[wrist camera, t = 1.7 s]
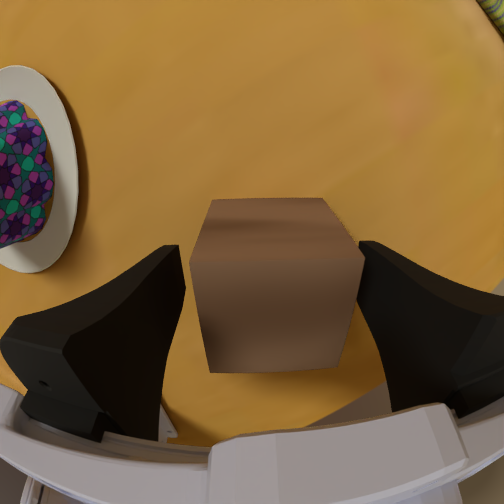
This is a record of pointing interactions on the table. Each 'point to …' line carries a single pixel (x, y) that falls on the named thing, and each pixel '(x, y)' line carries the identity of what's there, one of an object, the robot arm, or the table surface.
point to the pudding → (34, 172)
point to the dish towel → (494, 11)
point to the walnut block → (274, 284)
